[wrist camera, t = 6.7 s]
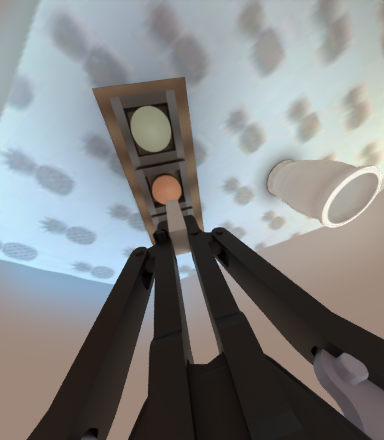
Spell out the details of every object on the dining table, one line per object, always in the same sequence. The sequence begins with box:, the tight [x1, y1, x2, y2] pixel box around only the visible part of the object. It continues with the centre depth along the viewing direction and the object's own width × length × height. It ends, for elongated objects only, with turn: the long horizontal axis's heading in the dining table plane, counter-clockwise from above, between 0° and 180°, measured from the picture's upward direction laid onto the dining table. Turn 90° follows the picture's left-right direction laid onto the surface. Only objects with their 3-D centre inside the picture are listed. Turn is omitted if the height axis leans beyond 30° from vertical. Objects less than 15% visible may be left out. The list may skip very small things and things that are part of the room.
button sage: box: [131, 106, 171, 152], centre depth 19 cm, size 5×5×3 cm
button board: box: [92, 77, 204, 245], centre depth 27 cm, size 30×13×5 cm, turn 9°
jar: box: [267, 160, 382, 228], centre depth 29 cm, size 11×10×15 cm
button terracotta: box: [152, 173, 181, 204], centre depth 26 cm, size 5×5×3 cm
